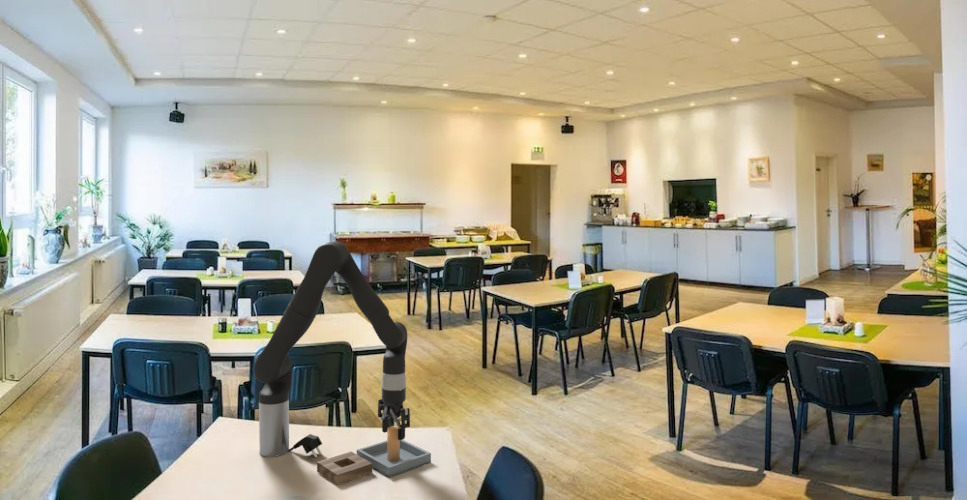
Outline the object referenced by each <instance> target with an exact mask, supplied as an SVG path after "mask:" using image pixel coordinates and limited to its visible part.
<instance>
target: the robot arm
mask: <svg viewBox="0 0 967 500" xmlns="http://www.w3.org/2000/svg"><path fill="white" fill-rule="evenodd" d="M336 273H337V274H338V276H340V277H341V278H342V280H343V281H344V282H345V284H346V285H347V288H348V289H349V291H350V294H351V295H352V298H353V300H354V303H355V304H356V306H357V308H358V309H359V310H360V312H361V313H362V314H363V315H364V316H365V318H366V319H367V320H368V321H369V323H370V324H371V326H372V329H373V330H374V333H376V336H377V337H378V340H380V342H381V343H382V344H384V346H385V353H384V355H383V359H382V377H381V399H378V400H377V401H378V403H377V417H378V418H379V419H380V421H381V430H382V432H383V433H384V434H385V433H387V428H388V427H390V420H389V419H390V418H391V419H392V420H394V421H393V422H394V423H396V426H398V440H405V438H406V429H407V428H410V427H411V414H410V408H409V407H407V408H405V407H404V405H403V404H404V403H405V401H406V396H407V395H406V394H407V393H406V392H407V390H406V389H407V379H406V378H407V377H406V351H407V345H408V330H407V327H406V326H405V325H404V324H403V323H402V322H399V321H394V320H393V319H392V317H391V316H390V311H389V309H388V307H387V306H386V304H385V302H384V301H383V300H382V299H381V298H380V297H379V295H378V294H377V292H376V291H375V290H374V289H373V287H372V286H371V284H370V283H369V282H368V281H367V279H366V278H365V276H364V275H363V273H362V271H361V270H360V268H359V266H358V265H357V263H356V261H355V259H354V258H353V255H352V254H351V252H350V250H349V249H348V247H347V246H346V245H345V244H344V243H343V242H340V241H337V240H336V241H329V242H325V243H322V244H320V245H319V246H318V247H317V248H316V250H315V251H314V253H313V255H312V257H311V261H310V263H309V265H308V268H307V270H306V272H305V275H304V277H303V279H302V281H301V282H300V284H299V286H298V287H297V289H296V291H295V293H294V295H293V296H292V298H291V299H290V301H289V303H288V304H287V306H286V309H284V310H285V311H284V312H283V315H282V316H281V318H280V320H279V322H278V324H277V326H276V327H275V330H274V332H273V334H272V336H271V337H270V339H269V341H268V343H266V346H264V348H263V350H262V351H261V353H260V354H259V355H258V357H257V359H256V361H254V364H253V374H254V377H255V378H256V380H257V381H258V382H260V383H261V384H264V385H263V387H262V389H261V390H260V391H259V394H258V409H259V410H258V415H259V416H258V418H259V420H258V421H259V422H258V426H259V429H258V430H259V432H258V433H259V454H260V455H261V456H263V457H270V458H271V457H272V458H273V457H279V456H281V455H282V456H283V455H285V454H287V453H288V452H290V451H289V449H290V412H289V411H290V409H289V408H290V407H289V405H290V401H289V399H290V398H289V397H290V392H291V390H292V377H293V376H292V375H293V374H292V373H293V372H292V370H293V369H292V367H293V366H292V359H291V358H290V355H289V353H290V351H291V350H292V348H293V347H294V346H295V345H296V344H297V343H298V342H299V341H300V340H301V338H303V336H304V335H305V334H306V332H307V331H308V330H309V328H310V327H311V326H312V324H313V322H314V320H315V319H316V317H317V314H318V312H319V310H320V308H321V307H320V306H321V304H322V298H323V294H324V291H325V289H326V287H327V285H328V283H329V282H330V280H331V279H332V277H333V275H334V274H336Z"/></svg>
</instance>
